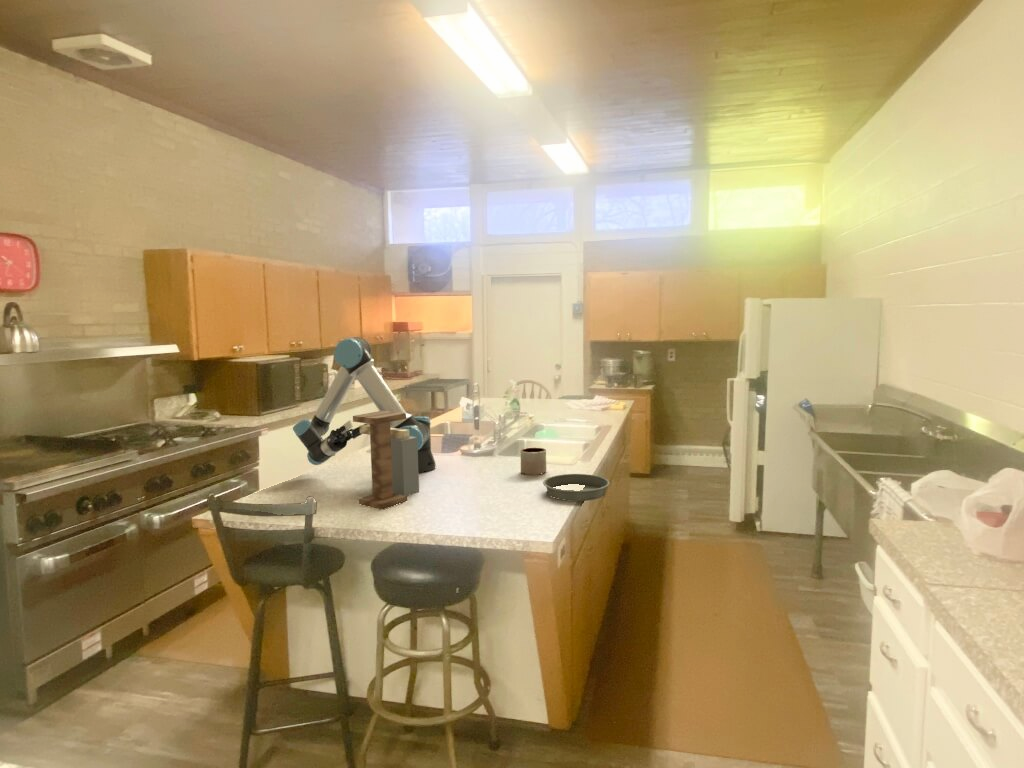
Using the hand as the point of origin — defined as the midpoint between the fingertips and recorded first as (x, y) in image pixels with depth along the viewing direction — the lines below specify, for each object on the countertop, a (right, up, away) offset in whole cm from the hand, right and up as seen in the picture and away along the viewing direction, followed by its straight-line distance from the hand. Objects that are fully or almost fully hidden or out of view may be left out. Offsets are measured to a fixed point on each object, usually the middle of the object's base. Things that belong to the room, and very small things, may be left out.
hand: (364, 421), depth 258 cm
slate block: (+13, -26, -6) cm, 30 cm away
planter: (+67, -23, +20) cm, 73 cm away
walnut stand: (+12, -28, -22) cm, 38 cm away
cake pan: (+82, -26, -13) cm, 87 cm away
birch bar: (+9, -5, -5) cm, 11 cm away
